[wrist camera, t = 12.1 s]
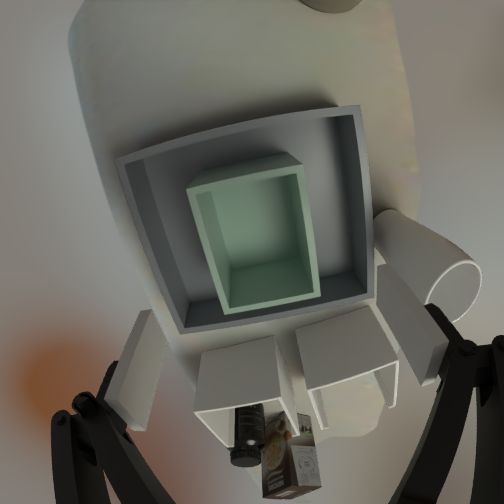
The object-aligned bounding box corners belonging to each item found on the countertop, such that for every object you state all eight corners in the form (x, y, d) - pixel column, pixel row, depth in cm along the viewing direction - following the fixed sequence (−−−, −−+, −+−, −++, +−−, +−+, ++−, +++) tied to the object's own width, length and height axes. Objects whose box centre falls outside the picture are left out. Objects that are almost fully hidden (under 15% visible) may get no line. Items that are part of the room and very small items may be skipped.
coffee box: (284, 409, 48) (292, 485, 34) (311, 416, 50) (323, 486, 35) (258, 430, 51) (261, 498, 37) (284, 435, 53) (291, 500, 38)
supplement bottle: (256, 417, 49) (258, 471, 38) (221, 411, 48) (218, 467, 37) (269, 398, 46) (274, 457, 35) (231, 391, 45) (229, 452, 34)
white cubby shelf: (369, 304, 38) (398, 359, 28) (373, 354, 43) (395, 405, 33) (201, 351, 41) (193, 412, 31) (229, 393, 46) (227, 447, 36)
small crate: (200, 171, 29) (185, 189, 22) (287, 152, 28) (302, 164, 21) (228, 272, 34) (224, 314, 27) (305, 257, 33) (320, 296, 26)
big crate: (136, 150, 28) (114, 159, 23) (339, 106, 27) (359, 104, 21) (188, 304, 37) (180, 334, 32) (357, 270, 35) (373, 297, 30)
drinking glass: (351, 231, 33) (410, 305, 20) (389, 190, 31) (468, 243, 17) (383, 263, 35) (441, 339, 22) (418, 226, 33) (490, 287, 19)
